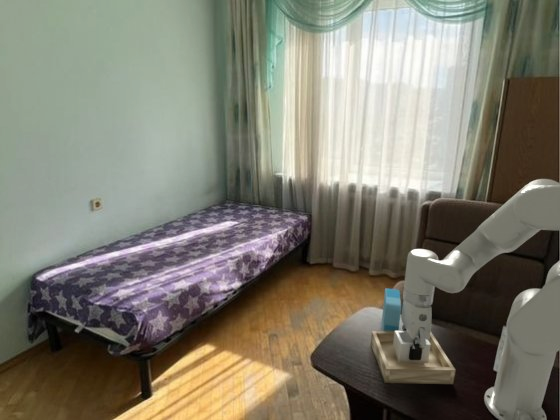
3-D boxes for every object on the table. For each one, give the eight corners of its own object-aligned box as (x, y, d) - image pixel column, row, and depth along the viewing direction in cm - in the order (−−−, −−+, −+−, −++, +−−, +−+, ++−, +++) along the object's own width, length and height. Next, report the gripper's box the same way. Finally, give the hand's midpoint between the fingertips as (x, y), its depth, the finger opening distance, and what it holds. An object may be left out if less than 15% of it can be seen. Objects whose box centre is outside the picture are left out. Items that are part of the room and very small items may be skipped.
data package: (397, 340, 110) (401, 307, 107) (382, 338, 111) (385, 305, 108) (395, 319, 121) (399, 288, 118) (382, 317, 123) (385, 286, 119)
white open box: (428, 362, 97) (430, 344, 96) (399, 362, 97) (401, 344, 96) (420, 348, 103) (422, 330, 101) (392, 348, 103) (394, 330, 102)
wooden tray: (452, 384, 93) (455, 370, 92) (384, 382, 93) (386, 368, 92) (429, 344, 109) (431, 332, 107) (370, 343, 109) (371, 331, 108)
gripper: (446, 313, 86) (436, 373, 92) (420, 279, 103) (413, 332, 108) (415, 312, 87) (407, 373, 92) (394, 279, 103) (388, 332, 108)
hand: (410, 350), depth 100 cm, fingers closed on white open box, 6 cm apart
